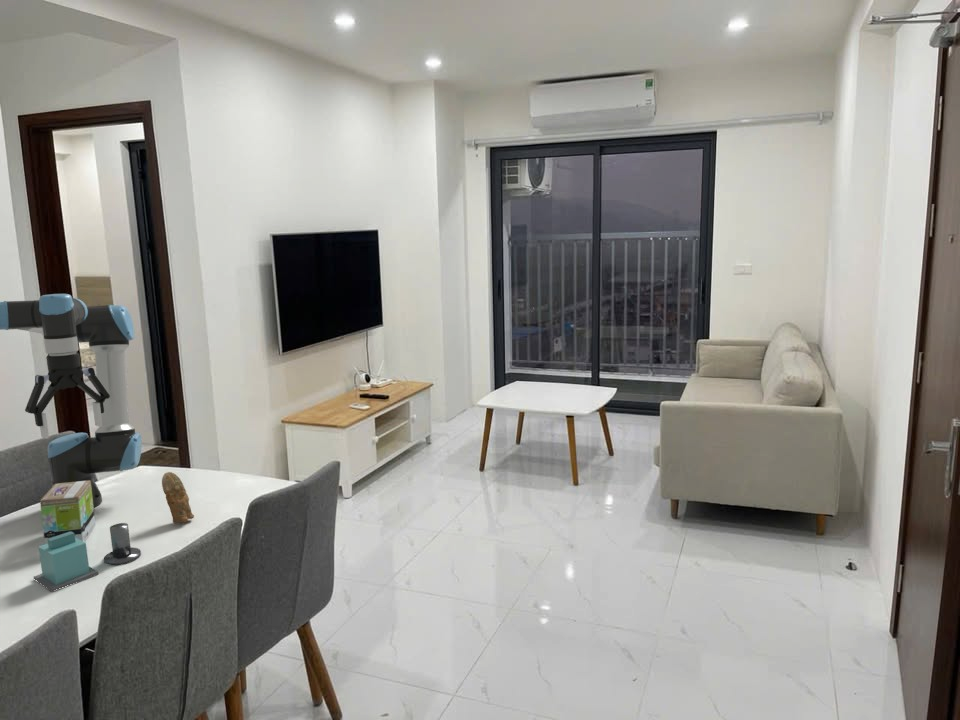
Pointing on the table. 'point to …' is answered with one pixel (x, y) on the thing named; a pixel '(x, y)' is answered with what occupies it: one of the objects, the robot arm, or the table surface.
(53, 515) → the tea box
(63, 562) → the cap
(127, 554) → the post
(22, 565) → the table surface
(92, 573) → the pad
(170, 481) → the figurine
